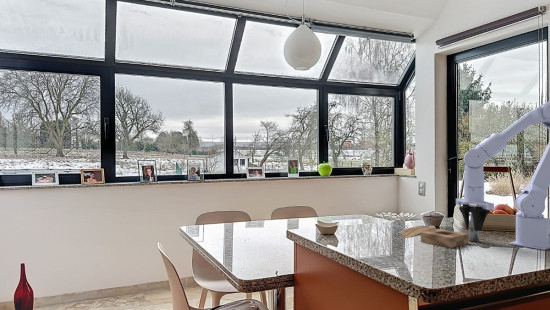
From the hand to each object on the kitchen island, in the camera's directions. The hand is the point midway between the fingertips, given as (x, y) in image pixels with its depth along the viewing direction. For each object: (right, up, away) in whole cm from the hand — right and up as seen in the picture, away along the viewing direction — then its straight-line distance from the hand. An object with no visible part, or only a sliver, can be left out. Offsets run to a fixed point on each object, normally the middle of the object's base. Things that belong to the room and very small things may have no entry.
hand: (473, 229), depth 128 cm
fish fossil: (-14, -4, +14) cm, 21 cm away
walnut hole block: (-10, -4, -3) cm, 11 cm away
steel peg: (0, -3, 0) cm, 3 cm away
